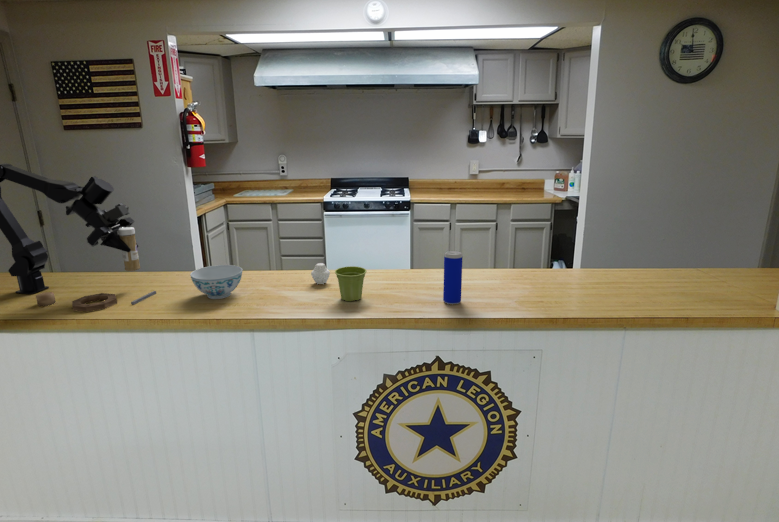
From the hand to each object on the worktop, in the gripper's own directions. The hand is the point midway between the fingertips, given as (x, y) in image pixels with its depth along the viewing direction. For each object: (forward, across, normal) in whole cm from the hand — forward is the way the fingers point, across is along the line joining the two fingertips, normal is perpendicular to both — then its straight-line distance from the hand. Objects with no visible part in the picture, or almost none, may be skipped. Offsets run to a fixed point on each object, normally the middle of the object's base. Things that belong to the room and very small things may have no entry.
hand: (133, 249), depth 150 cm
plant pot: (+58, -12, -40) cm, 71 cm away
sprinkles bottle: (+4, 0, +6) cm, 7 cm away
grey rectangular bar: (+14, -9, +5) cm, 17 cm away
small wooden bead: (-6, -12, +25) cm, 28 cm away
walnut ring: (+5, -14, +14) cm, 20 cm away
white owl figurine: (+50, +3, -32) cm, 60 cm away
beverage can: (+78, -17, -61) cm, 101 cm away
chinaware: (+29, -7, -10) cm, 32 cm away
